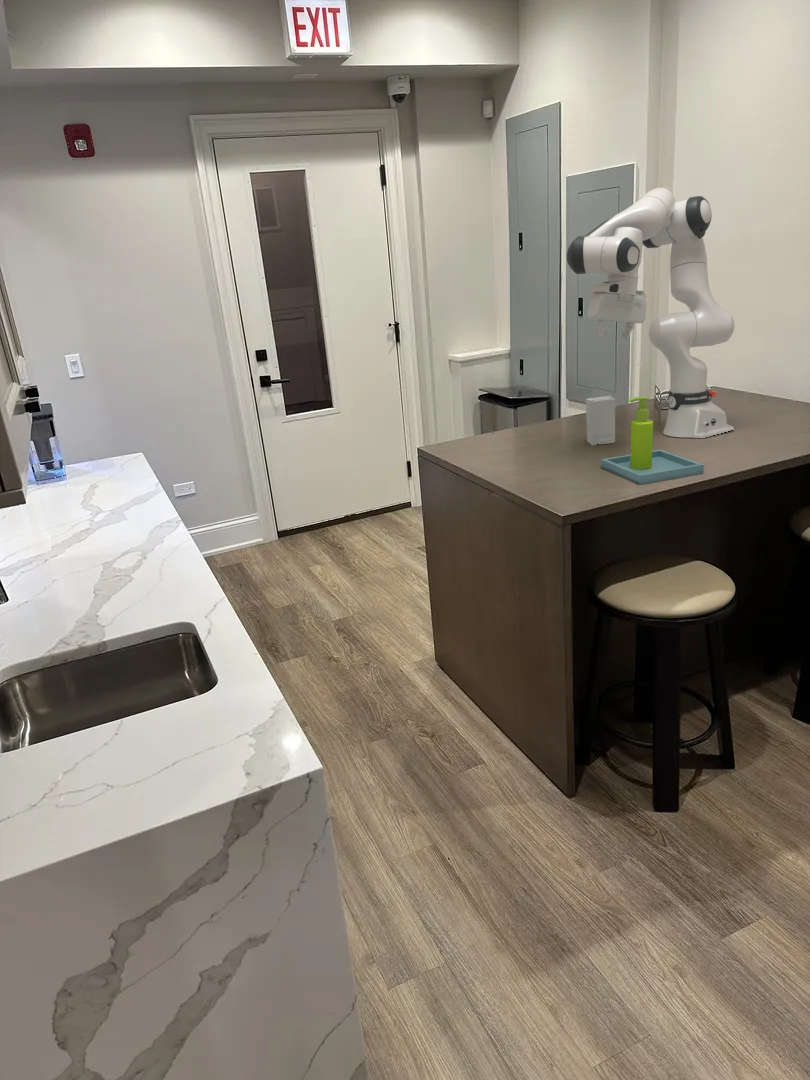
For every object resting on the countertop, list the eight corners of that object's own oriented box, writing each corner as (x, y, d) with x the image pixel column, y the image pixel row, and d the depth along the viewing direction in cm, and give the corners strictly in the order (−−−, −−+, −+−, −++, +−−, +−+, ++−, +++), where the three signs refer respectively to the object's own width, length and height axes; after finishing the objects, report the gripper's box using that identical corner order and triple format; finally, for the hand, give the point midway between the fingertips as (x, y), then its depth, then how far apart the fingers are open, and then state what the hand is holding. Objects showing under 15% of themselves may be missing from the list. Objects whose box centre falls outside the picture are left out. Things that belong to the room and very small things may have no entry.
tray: (660, 457, 221) (660, 449, 220) (703, 473, 203) (704, 464, 202) (600, 467, 216) (601, 459, 215) (639, 484, 198) (640, 475, 197)
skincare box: (610, 439, 246) (610, 395, 241) (615, 443, 240) (616, 398, 235) (585, 441, 246) (585, 397, 241) (590, 446, 240) (590, 400, 235)
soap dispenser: (623, 465, 213) (625, 396, 206) (646, 463, 214) (649, 394, 207) (631, 471, 208) (633, 400, 201) (655, 468, 208) (657, 397, 201)
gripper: (638, 291, 220) (631, 338, 224) (587, 285, 210) (580, 335, 214) (654, 291, 215) (646, 340, 219) (603, 285, 205) (595, 336, 209)
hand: (613, 337), depth 217 cm, fingers open, 8 cm apart
